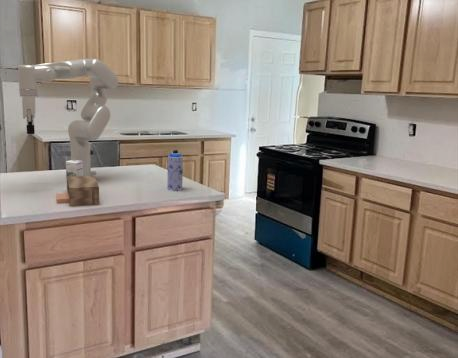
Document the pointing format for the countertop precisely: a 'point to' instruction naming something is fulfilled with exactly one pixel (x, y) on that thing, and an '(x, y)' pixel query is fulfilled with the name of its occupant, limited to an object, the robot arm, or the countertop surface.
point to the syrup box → (74, 168)
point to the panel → (62, 198)
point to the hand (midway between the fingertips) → (30, 133)
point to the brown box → (83, 190)
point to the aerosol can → (175, 171)
